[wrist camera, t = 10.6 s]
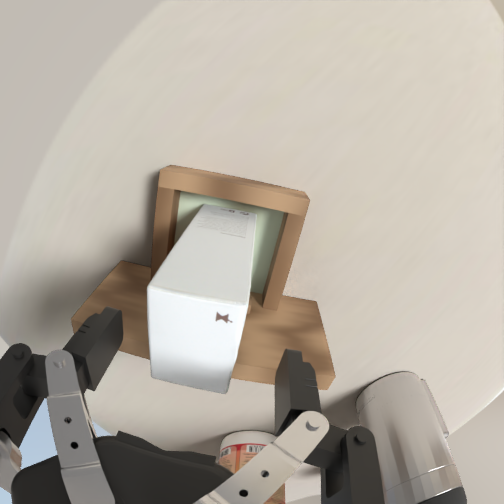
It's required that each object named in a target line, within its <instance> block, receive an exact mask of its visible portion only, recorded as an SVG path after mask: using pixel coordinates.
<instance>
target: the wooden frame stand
mask: <svg viewBox="0 0 504 504" xmlns="http://www.w3.org/2000/svg"><path fill="white" fill-rule="evenodd" d="M309 202H310V199H309V198H308V196H307V195H306V193H305V192H302V191H298V190H294V189H290V188H285V187H281V186H277V185H272V184H268V183H263V182H259V181H254V180H250V179H245V178H240V177H235V176H230V175H225V174H220V173H215V172H209V171H204V170H198V169H192V168H187V167H181V166H175V165H170V166H167V167H165V168H163V169H161V170H160V175H159V182H158V191H157V199H156V209H155V219H154V231H153V244H152V259H151V267H146V266H142V265H138V264H134V263H130V262H126V261H122V260H121V261H120V263H119V264H118V265H117V266H116V267H115V268H114V269H113V270H112V271H111V272H110V274H109V275H108V276H107V277H106V278H105V279H104V280H103V281H102V283H101V284H100V285H99V286H98V287H97V288H96V289H95V291H94V292H93V293H92V294H91V295H90V296H89V298H88V299H87V300H86V301H85V302H84V304H83V305H82V306H81V307H80V308H79V310H78V311H77V312H76V313H75V314H74V316H73V317H72V318H71V322H72V327H73V331H74V334H75V333H76V332H77V331H78V329H79V328H80V326H82V324H83V323H84V322H85V320H86V319H87V318H88V317H90V316H91V315H93V314H95V313H97V314H101V312H102V311H103V310H104V308H105V307H107V306H109V307H112V308H115V309H118V310H121V311H122V320H123V341H122V344H121V346H120V348H119V349H118V350H119V351H122V352H125V353H129V354H132V355H135V356H139V357H142V358H146V359H149V360H150V352H149V339H148V322H147V286H148V285H149V283H150V282H151V280H152V279H153V277H154V275H155V274H156V272H157V271H158V269H159V268H160V266H161V265H162V263H163V262H164V260H165V259H166V257H167V256H168V254H169V253H170V251H171V250H172V248H173V247H174V245H175V244H176V243H177V241H178V240H179V238H180V237H181V235H182V234H183V232H184V231H185V229H186V228H187V227H188V225H189V224H190V223H191V221H192V220H193V218H194V217H195V216H196V214H197V213H198V211H199V210H200V209H201V207H202V206H203V205H204V204H208V205H213V206H219V207H224V208H229V209H235V210H240V211H245V212H250V213H255V214H257V219H256V230H255V240H254V251H253V263H252V273H251V288H250V296H249V304H248V309H247V314H246V319H245V323H244V327H243V332H242V336H241V341H240V345H239V349H238V354H237V359H236V362H235V365H234V367H233V371H232V376H231V378H234V379H239V380H245V381H252V382H258V383H265V384H273V385H275V375H276V371H277V368H278V366H279V363H280V361H281V358H282V356H283V353H284V351H285V349H292V350H299V351H301V352H302V358H303V362H309V363H310V364H311V365H312V367H313V368H314V370H315V373H316V381H317V388H318V389H320V390H328V388H329V386H330V385H331V383H332V381H333V380H334V378H335V377H336V376H335V372H334V367H333V363H332V359H331V355H330V351H329V347H328V343H327V339H326V335H325V331H324V328H323V324H322V320H321V316H320V312H319V309H318V305H317V302H316V301H311V300H305V299H300V298H294V297H289V296H283V295H282V293H283V290H284V287H285V284H286V280H287V277H288V274H289V271H290V267H291V264H292V261H293V257H294V254H295V251H296V247H297V244H298V241H299V237H300V234H301V230H302V227H303V223H304V220H305V216H306V213H307V209H308V206H309Z"/></svg>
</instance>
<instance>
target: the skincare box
mask: <svg viewBox="0 0 504 504" xmlns="http://www.w3.org/2000/svg"><path fill="white" fill-rule="evenodd" d="M256 219H257V214H255V213H250V212H245V211H240V210H235V209H229V208H224V207H219V206H213V205H208V204H204V205H203V206H202V207H201V209H200V210H199V211H198V213H197V214H196V216H195V217H194V218H193V220H192V221H191V223H190V224H189V225H188V227H187V228H186V229H185V231H184V232H183V234H182V235H181V237H180V238H179V240H178V241H177V243H176V244H175V245H174V247H173V248H172V250H171V251H170V253H169V254H168V256H167V257H166V259H165V260H164V262H163V263H162V265H161V266H160V268H159V269H158V271H157V272H156V274H155V275H154V277H153V279H152V280H151V282H150V283H149V285H148V286H147V322H148V339H149V352H150V365H151V377H152V378H155V379H159V380H163V381H167V382H171V383H175V384H179V385H184V386H188V387H193V388H197V389H202V390H207V391H212V392H216V393H221V394H225V393H227V391H228V388H229V384H230V380H231V376H232V371H233V367H234V365H235V362H236V359H237V354H238V349H239V345H240V341H241V336H242V332H243V327H244V323H245V319H246V314H247V309H248V304H249V296H250V288H251V273H252V263H253V251H254V240H255V230H256Z"/></svg>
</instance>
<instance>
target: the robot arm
mask: <svg viewBox="0 0 504 504" xmlns="http://www.w3.org/2000/svg"><path fill="white" fill-rule="evenodd" d="M122 341H123V320H122V311H121V310H118V309H115V308H112V307H109V306H107V307H105V308H104V310H103V311H102V312H101V314H97V313H95V314H93V315H91V316H90V317H88V318H87V319H86V320H85V322H84V323H83V324H82V326H80V328H79V329H78V331H77V332H76V333H75V334H74V335H73V337H72V338H71V339H70V340H69V342H68V343H67V344H66V346H65V347H64V348H63V349H62V350H55V351H52V352H51V353H49V354H48V355H47V356H44V355H37V354H32V352H31V349H30V348H29V347H28V346H27V345H25V344H22V343H19V344H14V345H12V346H11V347H10V348H9V349H8V350H7V351H6V353H5V354H4V356H3V357H2V358H1V359H0V487H2V488H3V489H4V490H6V491H7V492H9V493H10V494H11V497H12V504H264V503H265V502H266V501H267V500H268V499H269V498H270V497H271V496H272V495H273V494H274V493H275V492H276V491H277V490H278V489H279V488H280V487H281V486H282V485H283V484H284V482H285V481H286V480H287V479H288V478H289V477H290V476H291V475H292V474H293V473H294V472H295V471H296V469H297V468H298V467H299V466H300V465H301V464H302V462H304V463H307V464H310V465H314V466H317V467H320V468H321V504H467V499H466V495H465V491H464V488H463V486H462V483H461V480H460V477H459V474H458V471H457V468H456V465H455V463H454V460H453V457H452V454H451V452H450V449H449V446H448V444H447V441H446V438H447V437H448V435H449V432H448V429H447V427H446V425H445V422H444V420H443V418H442V415H441V413H440V411H439V409H438V406H437V404H436V402H435V400H434V398H433V395H432V393H431V391H430V389H429V387H428V385H427V383H426V381H425V380H420V379H419V377H418V376H417V375H416V374H414V373H411V372H400V373H395V374H391V375H388V376H386V377H383V378H381V379H379V380H377V381H375V382H374V383H372V384H371V385H369V386H368V387H367V388H366V389H365V390H363V392H362V393H361V394H360V395H359V397H358V399H357V401H356V409H357V413H358V417H359V421H360V425H361V426H355V427H352V428H350V429H349V430H348V431H347V430H344V429H341V428H337V427H335V426H332V425H331V424H329V422H328V420H327V419H326V417H325V416H324V415H322V413H321V407H320V400H319V393H318V388H317V381H316V373H315V370H314V368H313V367H312V365H311V364H310V363H309V362H303V358H302V352H301V351H299V350H292V349H285V351H284V353H283V356H282V358H281V361H280V363H279V366H278V368H277V371H276V375H275V436H277V437H278V438H277V439H276V440H275V441H274V442H270V443H269V444H268V445H267V446H266V447H264V448H263V449H262V450H261V451H260V452H259V453H258V454H257V455H256V456H255V457H253V458H252V459H251V460H250V461H249V462H248V463H247V464H245V465H244V466H243V467H242V468H241V469H240V470H238V471H237V472H236V473H235V474H234V473H232V472H231V471H230V470H229V469H227V468H226V467H224V466H222V465H220V464H218V463H215V459H216V457H215V456H210V455H205V454H200V453H195V452H182V451H165V450H162V449H160V448H158V447H156V446H154V445H152V444H151V443H149V442H147V441H145V440H144V439H142V438H139V437H136V436H133V435H130V434H127V433H124V432H121V431H118V434H117V436H101V437H97V435H96V432H95V430H94V427H93V424H92V420H91V417H90V413H89V410H88V406H87V403H86V399H85V395H84V393H85V391H86V389H90V390H92V391H95V389H96V388H97V386H98V384H99V382H100V380H101V379H102V377H103V375H104V373H105V372H106V370H107V368H108V366H109V365H110V363H111V361H112V359H113V358H114V356H115V354H116V353H117V351H118V349H119V348H120V346H121V344H122ZM44 398H47V405H48V411H49V416H50V422H51V427H52V432H53V437H54V441H55V445H56V450H57V454H58V455H56V456H53V457H51V458H49V459H46V460H44V461H41V462H39V463H36V464H34V465H31V466H29V467H26V468H24V469H22V470H21V468H20V467H21V460H22V455H21V452H20V450H19V447H20V445H21V443H22V440H23V438H24V436H25V434H26V432H27V430H28V428H29V426H30V424H31V422H32V420H33V418H34V416H35V414H36V413H37V411H38V409H39V407H40V405H41V403H42V402H43V400H44Z"/></svg>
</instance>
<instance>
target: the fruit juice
mask: <svg viewBox="0 0 504 504" xmlns="http://www.w3.org/2000/svg"><path fill="white" fill-rule="evenodd" d="M277 438H278V437H277V436H275V435H273V434H270V433H266V432H261V431H240V432H235V433H232V434H229V435H227V436H226V437H225V438H224V439H223V441H222V443H221V447H220V456H219V464H220V465H222V466H224V467H226V468H227V469H229V470H230V471H231V472H232V473H234V474H235V473H236V472H237V471H238V470H240V469H241V468H242V467H243V466H244V465H245V464H247V463H248V462H249V461H250V460H251V459H252V458H253V457H255V456H256V455H257V454H258V453H259V452H260V451H261V450H262V449H263V448H264V447H266V446H267V445H268V444H269V443H270V442H274V441H275V440H276V439H277ZM264 504H285V482H284V484H283V485H282V486H281V487H280V488H279V489H278V490H277V491H276V492H275V493H274V494H273V495H272V496H271V497H270V498H269V499H268V500H267V501H266V502H265V503H264Z"/></svg>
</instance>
